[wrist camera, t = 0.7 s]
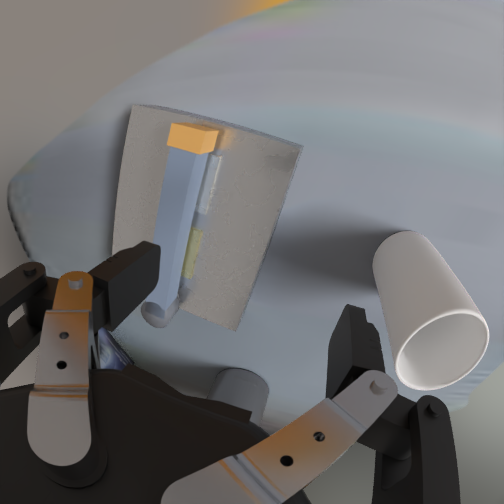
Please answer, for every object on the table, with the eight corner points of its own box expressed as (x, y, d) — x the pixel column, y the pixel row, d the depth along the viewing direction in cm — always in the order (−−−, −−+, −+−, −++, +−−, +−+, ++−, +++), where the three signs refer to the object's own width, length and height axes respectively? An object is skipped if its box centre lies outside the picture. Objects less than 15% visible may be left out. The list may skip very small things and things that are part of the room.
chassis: (245, 309, 40) (233, 335, 35) (130, 261, 41) (108, 279, 36) (303, 146, 30) (299, 149, 25) (156, 105, 31) (129, 104, 26)
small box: (136, 363, 51) (109, 400, 42) (119, 368, 54) (93, 402, 44) (101, 320, 49) (68, 355, 39) (86, 328, 51) (55, 360, 42)
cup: (358, 271, 34) (373, 368, 20) (401, 216, 30) (452, 290, 16) (405, 304, 34) (434, 401, 20) (447, 256, 30) (504, 339, 16)
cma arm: (177, 317, 35) (166, 333, 32) (152, 306, 36) (139, 320, 33) (220, 131, 25) (207, 132, 22) (186, 121, 25) (169, 122, 23)
